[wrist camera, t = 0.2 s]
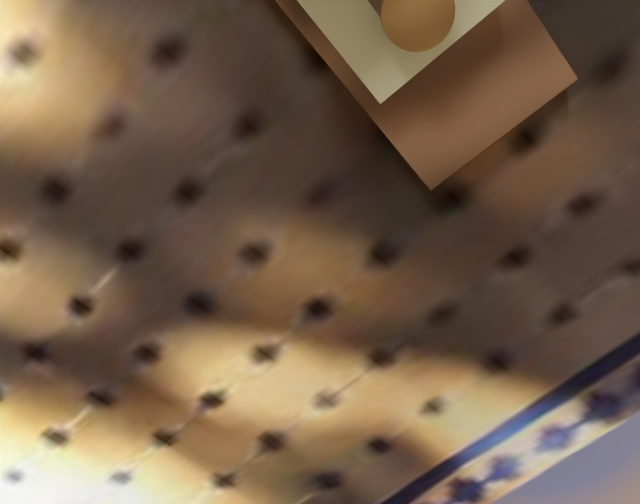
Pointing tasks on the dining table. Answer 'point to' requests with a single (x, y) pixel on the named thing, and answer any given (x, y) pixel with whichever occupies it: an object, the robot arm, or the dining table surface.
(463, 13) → the panel
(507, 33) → the rail
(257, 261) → the dining table surface
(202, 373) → the dining table surface
